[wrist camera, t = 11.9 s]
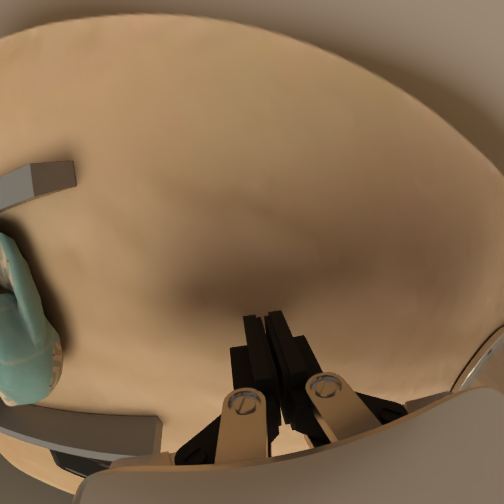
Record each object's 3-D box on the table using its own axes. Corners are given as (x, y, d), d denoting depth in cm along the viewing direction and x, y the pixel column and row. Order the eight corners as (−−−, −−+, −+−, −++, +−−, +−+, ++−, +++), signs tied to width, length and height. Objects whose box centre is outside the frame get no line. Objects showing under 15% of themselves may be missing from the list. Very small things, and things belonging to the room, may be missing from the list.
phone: (178, 502, 20) (57, 466, 16) (178, 495, 21) (59, 460, 17) (193, 484, 18) (45, 438, 15) (193, 475, 19) (48, 430, 16)
